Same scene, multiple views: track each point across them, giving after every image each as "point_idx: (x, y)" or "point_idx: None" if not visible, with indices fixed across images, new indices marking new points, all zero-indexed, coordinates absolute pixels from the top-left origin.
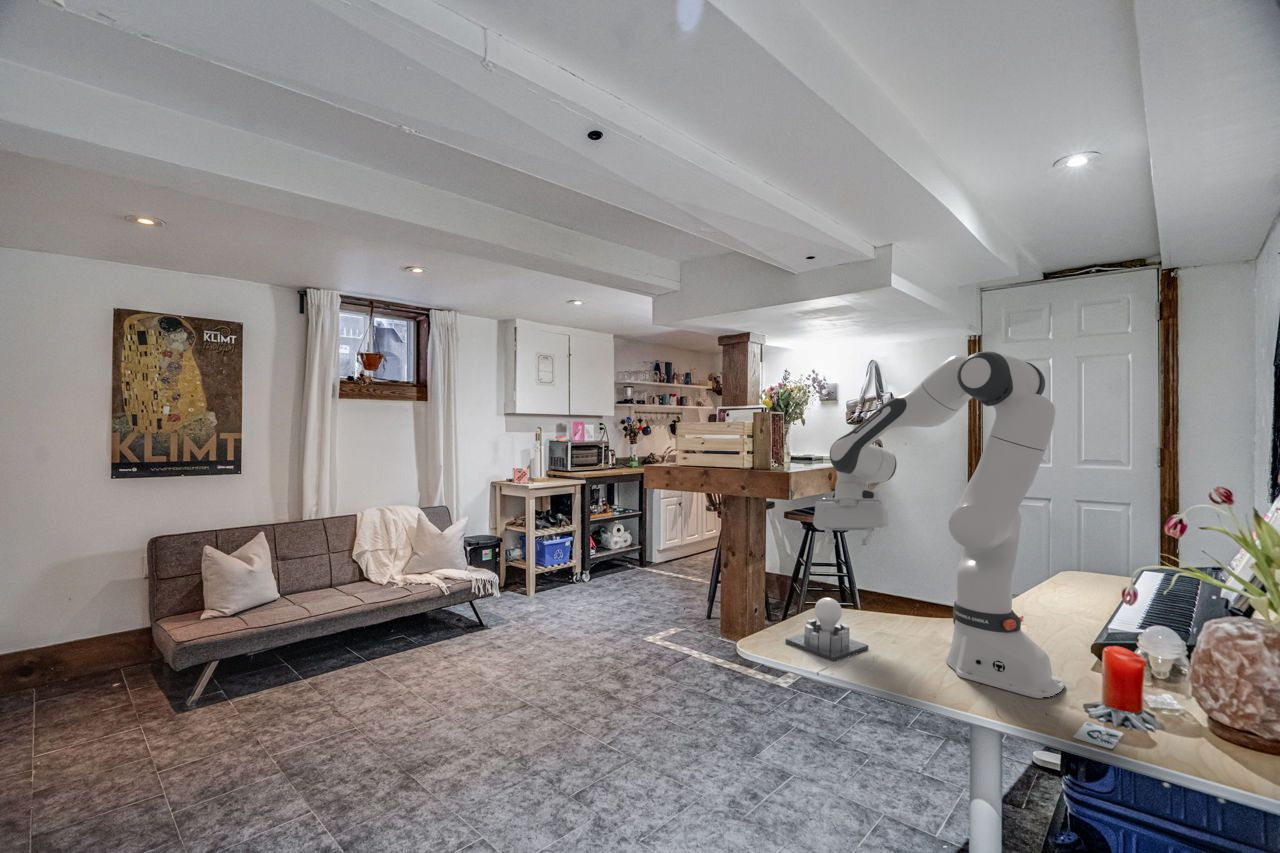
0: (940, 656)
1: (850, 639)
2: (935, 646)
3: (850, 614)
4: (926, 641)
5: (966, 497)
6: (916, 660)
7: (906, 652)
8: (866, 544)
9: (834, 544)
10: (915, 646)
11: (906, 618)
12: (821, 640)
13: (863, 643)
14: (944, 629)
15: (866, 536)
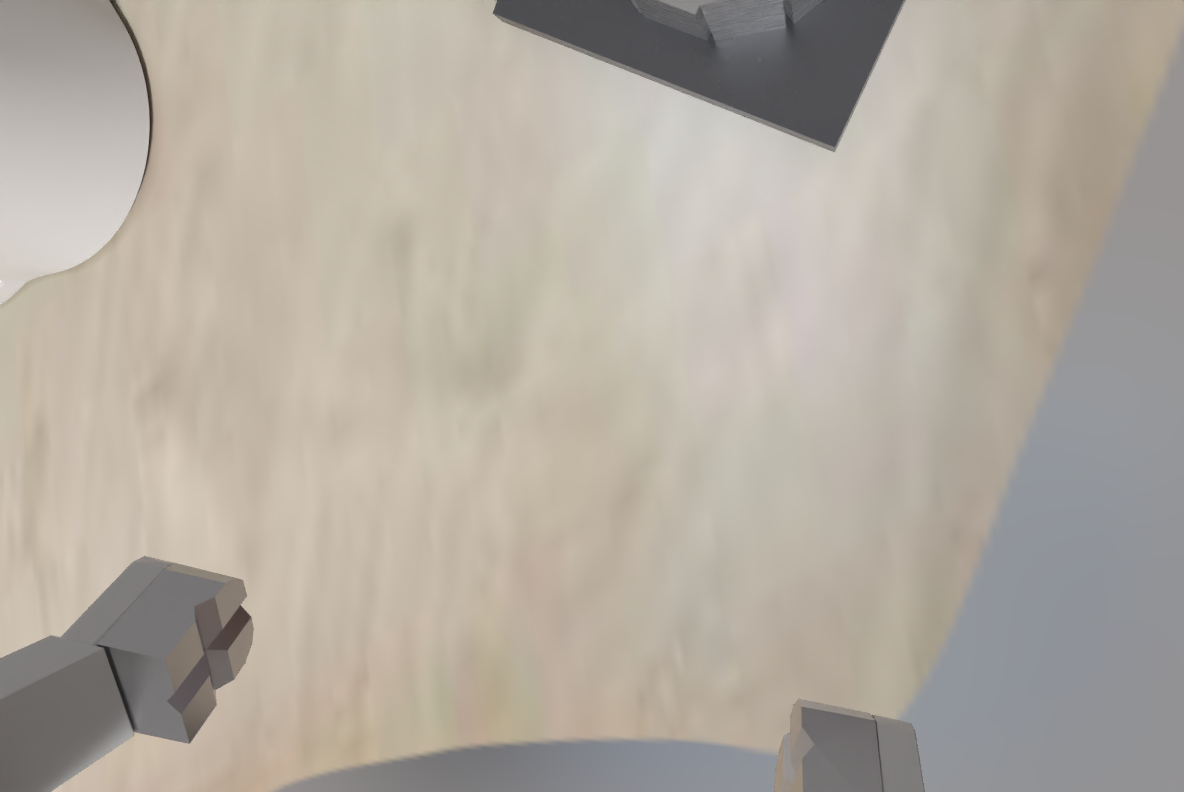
0: (183, 169)
1: (606, 44)
2: (219, 313)
3: (716, 655)
4: (264, 369)
5: None
6: (266, 24)
7: (323, 117)
8: (155, 561)
9: (782, 754)
10: (298, 249)
11: (402, 734)
12: None
13: (523, 23)
14: None
15: (45, 673)
